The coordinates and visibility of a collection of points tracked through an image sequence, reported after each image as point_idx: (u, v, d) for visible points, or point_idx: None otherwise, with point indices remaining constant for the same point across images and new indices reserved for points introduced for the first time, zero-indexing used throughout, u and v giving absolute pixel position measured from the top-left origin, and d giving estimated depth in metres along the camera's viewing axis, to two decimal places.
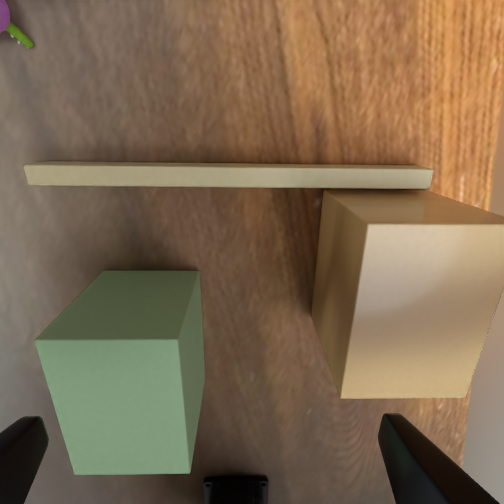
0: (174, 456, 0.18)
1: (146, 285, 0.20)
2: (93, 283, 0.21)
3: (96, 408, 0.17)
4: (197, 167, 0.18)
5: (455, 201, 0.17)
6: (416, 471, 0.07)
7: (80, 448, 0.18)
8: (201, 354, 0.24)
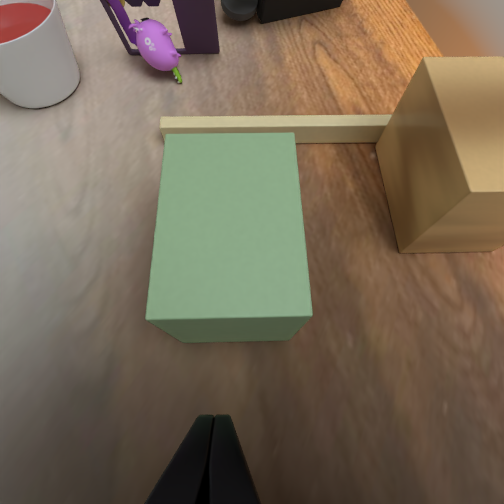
0: (290, 279, 0.14)
1: None
2: None
3: (204, 204, 0.15)
4: None
5: None
6: None
7: (168, 266, 0.14)
8: None
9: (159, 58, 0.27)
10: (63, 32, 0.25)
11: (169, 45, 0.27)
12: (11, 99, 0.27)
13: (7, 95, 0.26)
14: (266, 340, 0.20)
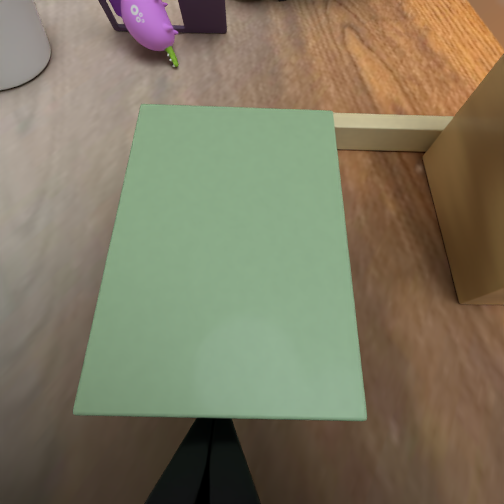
0: (327, 348, 0.08)
1: None
2: None
3: (191, 212, 0.09)
4: None
5: None
6: None
7: (124, 315, 0.08)
8: None
9: (149, 33, 0.21)
10: None
11: (162, 17, 0.21)
12: None
13: None
14: None
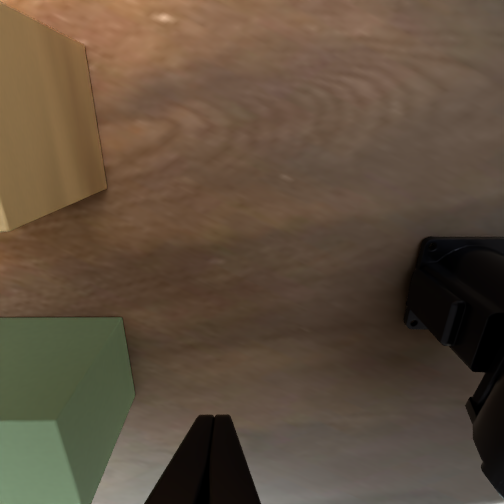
0: (22, 435, 0.14)
1: None
2: None
3: None
4: None
5: None
6: None
7: None
8: (57, 329, 0.19)
9: None
10: None
11: None
12: None
13: None
14: (124, 338, 0.21)
